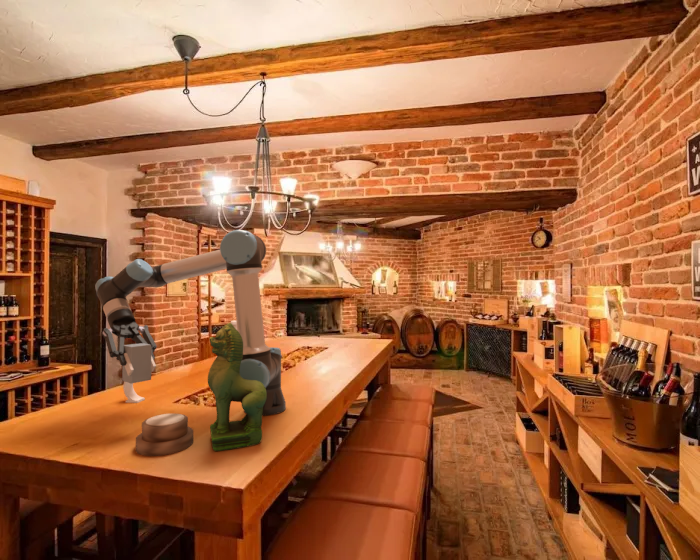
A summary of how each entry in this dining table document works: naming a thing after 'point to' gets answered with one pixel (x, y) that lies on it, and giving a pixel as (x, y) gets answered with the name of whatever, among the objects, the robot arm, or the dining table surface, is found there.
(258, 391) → the lion statue
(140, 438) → the walnut pedestal
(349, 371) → the dining table surface
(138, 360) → the slate block
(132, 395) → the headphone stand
